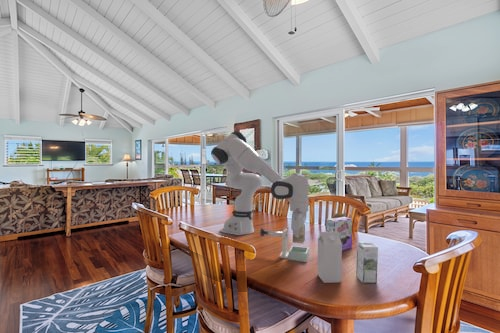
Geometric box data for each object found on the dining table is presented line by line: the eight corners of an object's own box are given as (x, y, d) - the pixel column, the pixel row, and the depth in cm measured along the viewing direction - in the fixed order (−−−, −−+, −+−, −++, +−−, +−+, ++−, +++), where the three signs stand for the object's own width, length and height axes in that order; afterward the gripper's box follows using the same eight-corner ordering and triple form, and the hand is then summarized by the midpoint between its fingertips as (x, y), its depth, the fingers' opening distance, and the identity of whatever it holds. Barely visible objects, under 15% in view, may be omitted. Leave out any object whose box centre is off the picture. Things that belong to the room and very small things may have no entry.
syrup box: (369, 276, 104) (370, 241, 104) (377, 283, 98) (378, 246, 98) (356, 276, 104) (356, 241, 104) (362, 283, 98) (363, 246, 98)
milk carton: (317, 275, 106) (317, 229, 105) (334, 274, 106) (334, 229, 106) (323, 283, 98) (324, 234, 98) (341, 282, 99) (342, 234, 99)
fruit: (329, 238, 155) (329, 213, 155) (330, 233, 166) (331, 210, 165) (349, 240, 151) (349, 215, 151) (349, 235, 161) (349, 212, 161)
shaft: (260, 237, 129) (260, 229, 129) (262, 234, 133) (262, 227, 133) (286, 240, 124) (286, 231, 124) (287, 237, 128) (287, 229, 128)
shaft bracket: (278, 258, 123) (279, 231, 123) (282, 252, 132) (283, 227, 131) (306, 262, 119) (307, 234, 119) (309, 255, 127) (309, 230, 127)
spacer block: (303, 243, 121) (303, 226, 121) (292, 242, 122) (292, 225, 122) (304, 240, 125) (304, 224, 125) (294, 239, 127) (294, 223, 127)
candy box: (333, 252, 131) (334, 221, 131) (325, 249, 136) (325, 218, 136) (352, 248, 137) (352, 218, 137) (343, 245, 143) (344, 216, 142)
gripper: (302, 211, 113) (301, 242, 113) (308, 204, 132) (308, 230, 132) (288, 210, 115) (287, 240, 115) (296, 203, 134) (296, 229, 134)
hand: (298, 235), depth 124 cm, fingers closed on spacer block, 5 cm apart
